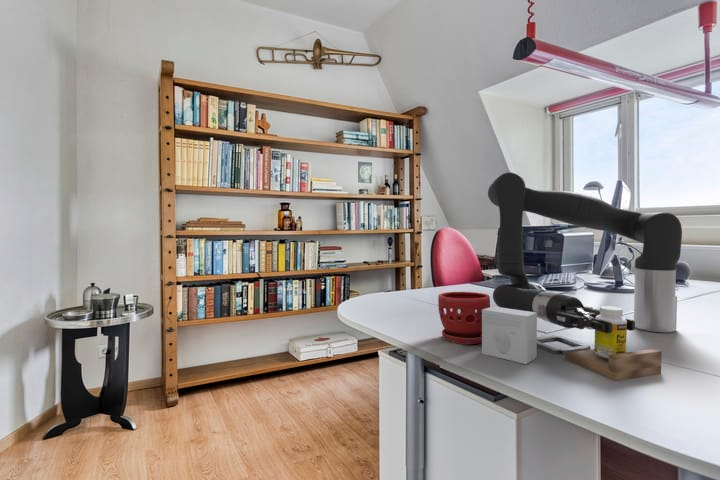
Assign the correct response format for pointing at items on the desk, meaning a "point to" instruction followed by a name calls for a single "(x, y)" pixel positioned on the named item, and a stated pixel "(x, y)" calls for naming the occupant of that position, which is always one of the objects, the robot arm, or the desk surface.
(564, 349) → the socket collar
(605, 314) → the supplement bottle
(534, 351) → the skincare box
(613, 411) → the desk surface
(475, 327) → the plant pot
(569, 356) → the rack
